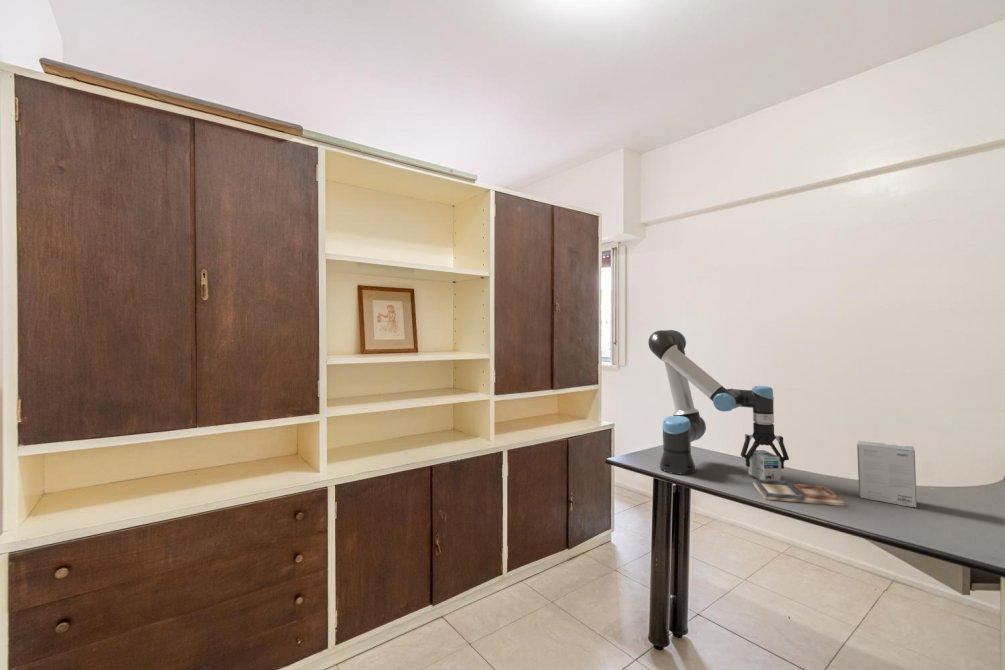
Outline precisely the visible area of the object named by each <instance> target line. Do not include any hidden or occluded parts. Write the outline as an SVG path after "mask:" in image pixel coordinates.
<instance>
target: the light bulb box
mask: <svg viewBox="0 0 1005 670" xmlns="http://www.w3.org/2000/svg"><path fill="white" fill-rule="evenodd" d="M750 459H751V460H752V475H751V476H753V477H754V476H755V477H754V478H755V479H761V480H775V481H781V477H780V457H779V456H777V455H776V454H775V453H771V452H769V451H767V450H765V449H756V450H755V452H754V453H753V455H752V456H751V458H750Z"/></svg>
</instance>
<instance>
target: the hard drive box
mask: <svg viewBox="0 0 1005 670" xmlns="http://www.w3.org/2000/svg"><path fill="white" fill-rule="evenodd" d="M856 449H857V451H856V452H857V471H858V474H857V475H858V478H857V479H858V497H859V498H862V499H867V500H871V501H876V502H877V501H878V502H883V503H889V504H893V505H898V506H903V507H911V508H914V507H915V508H918V504H917V503H918V501H917V500H918V499H917V498H918V497H917V481H916V480H917V478H916V477H917V476H916V472H917V471H916V451H915V449H914V446H912V445H903V444H893V443H886V442H885V443H884V442H874V441H865V440H857V444H856Z"/></svg>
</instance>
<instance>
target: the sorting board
mask: <svg viewBox="0 0 1005 670" xmlns="http://www.w3.org/2000/svg"><path fill="white" fill-rule="evenodd" d="M752 485H753V486H754V488H755V489H757V491H758V492H759V493H760V495H761V496H762V497H763V498H764V500H770V501H782V502H791V503H792V502H793V503H794V502H795V503H804V504H817V505H827V506H828V505H831V506H840V507H841V506H842V507H847V503H846V502H845V501H844V500H843V499H841V498H840V497H839V496H838V495H837V494H836V493H835V492H833V490H832V489H830V488H829V487H828V486H823V485H816V484H815V485H814V484H802V483H801V484H800V483H795V484H794V483H791V482H790V481H787V480H780V481H775V480H761V479H758V478H754V481H753V483H752Z"/></svg>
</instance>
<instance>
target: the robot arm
mask: <svg viewBox="0 0 1005 670" xmlns="http://www.w3.org/2000/svg"><path fill="white" fill-rule="evenodd" d="M647 342H648V343H647V345H648V347H649V349H650V351H651V352H652V354H653V355H654V356H656V357H657V358H658V359H659V360H660V361H662V362H664V365H665V370H666V374H667V378H668V383H669V388H670V393H671V397H672V400H673V405H674V410H675V411H674V412H673V413H672V416H667V417H666V418H664V419H663V421H662V426H661V428H662V446H663V449H662V451H663V452H662V455H661V457H660V461H659V469H660V468H661V469H663V470H665V471H668V472H672V473H681V474H680V475H691V474H690V473H692V474H695V473H696V463H695V461H694V459H693V455H692V448H691V446H692V442H694V441H697V440H700V439H701V438H702V437H703V436H704V435H705V433H706V431H707V425H706V422H705V420H704V418H703V417H701V415H700V411H699V410H698V409H697V408H695V405H694V401H693V400H694V399H693V395H692V392H691V387H690V384H689V382H690V383H691V384H692V385H693V386H695V387H696V388H697V389H698V390H699V391H700V392H701V393H703V394H704V396H706V397H707V398H708V399H710V400H711V401H712V404H713V406H714V407H715V409H716V410H718V411H720V412H731V411H732V410H734V409H736V408H752V421H753V423H752V427H753V430H752V434H748V433H747V434H746V433H745V434H744V437H745V438H744V439H745V440H744V442H743V445H742V448H741V452H740V457H742V459H743V458H744V459H745V466H746V467H747V468H748V475H750V476H753V475H752V460H751V459H750V458H751V456H752V455H753V453H754V452H755V450H758V447H760V446H767V447H768V446H770V448H771V449H772V451H773V452H774V455H776V456H779V457H780V478H782V470H784V469H785V461H789V460H790V457H789V455H788V452H787V449H786V447H785V444H784V437H783V436H782V435H775V424H774V422H775V415H774V413H775V411H774V399H775V397H774V389H773V388H772V387H771V386H767V385H754V386H752V389H750V390H749V389H740V388H739V389H738V388H737V389H736V388H726V387H724V386H723V385H722V384H721V383H719V382H718V381H717V380H716V379H715V378H713V377H712V376H711V375H709V373H707V372H706V371H705V370H704V369H703V368H701V367H700V366H699V365H697V363H695V362H694V361H693V360H691V359H690V358H689V357H688V356H686V351H685V348H686V345H687V340H686V337H685V336H684V334H683V333H681V332H680V331H678V330H673V329H663V330H662V329H661V330H656V331H654V332H652V334H651V335H649V338H648V341H647ZM753 439H754V441H753V443H752V445H751V446H750V443H751V441H752V440H753ZM775 440H776V441H777V442H778V446H779V448H780V451H781V453H780V452H779V449H778V448H777V447H776V445H775V444H774V441H775ZM749 446H750V448H749ZM748 448H749V449H748ZM661 469H660V470H661ZM663 470H662V471H663ZM665 471H664V472H665ZM668 472H667V473H668ZM672 473H671V474H672Z"/></svg>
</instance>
